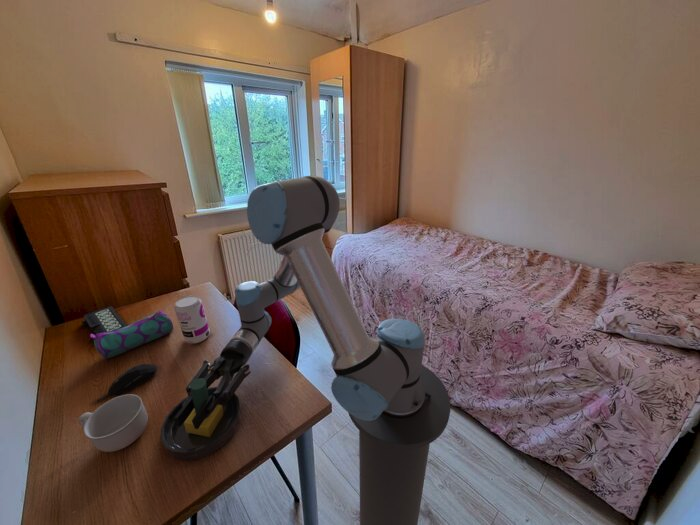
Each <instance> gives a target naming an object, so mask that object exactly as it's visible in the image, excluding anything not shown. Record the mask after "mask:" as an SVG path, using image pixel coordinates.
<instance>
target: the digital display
mask: <svg viewBox="0 0 700 525" xmlns="http://www.w3.org/2000/svg"><path fill="white" fill-rule="evenodd" d="M83 318H84V320H82V322H81V324H82V325H83V327H84V328H86V327H89V328H90V330H91V331H92V332H93V335H96V334H99V333H107V332H112V331H115V330H118V329H121V328H124V327H126V326H128V325H127V323H125V321H124V320H123V319H122V317H121V316H120V315H119V314H118V312H117V311H116V310H115V309H114V307H113V306H107V307H104V308H101V309H98V310H95V311H92V312H90V313H89V312H88V313H86V314H84V315H83ZM90 339H91V341H92V342H94V340H93V338H91V337H90Z"/></svg>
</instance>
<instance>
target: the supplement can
mask: <svg viewBox="0 0 700 525" xmlns="http://www.w3.org/2000/svg"><path fill="white" fill-rule="evenodd" d="M174 312H175V316H176V318H177V321H178V324H179V327H180V330H181V333H182V336H183V339H184V341H185V342H186V343H188V344H199V343H201V342H203V341H205V340H207V339H208V337H209V336H210V334H211V329H210V325H209V323H208V322H209V321H208V319H207V315H206V310H205V307H204V304H203V300H202V299H200V298H199V296H197V295H187V296H184V297H181V298H179V299H178V300H176V302H175V306H174Z"/></svg>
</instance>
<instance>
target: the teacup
mask: <svg viewBox="0 0 700 525" xmlns="http://www.w3.org/2000/svg"><path fill="white" fill-rule="evenodd" d="M148 421H149V414H148V412H147V409H146V407H145V405H144V403H143V400H142V398H141V397H140V396H139V395H137V394H133V393H127V394H120V395H117V396H115V397H113V398H111V399H109V400H107V401H106V402H104V403H102V404H101V405H99V407H97V408H96V409H95V410H94V411H93V412H84V413H81V415H80V416H79V418H78V420H77V422H78V424H79V425H80V426H81V427H83V434H84V436H85V437H86V438H87V439H88V440H89V441H90V443H91V444H92V446H94V447H95V448H96V449H97V450H100V451H102V452H105V453H112V452H117V451H119V450H122V449H125V448H126V447H128V446H130V445H131V444H133V443H134V442H135V441H136V440H137V439H139V437H140V436H142V434H143V433H144V431H145V430H146V428H147V426H148Z"/></svg>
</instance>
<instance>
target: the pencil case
mask: <svg viewBox="0 0 700 525" xmlns="http://www.w3.org/2000/svg"><path fill="white" fill-rule="evenodd" d="M173 331H174V325H173V322H172V320H171V318H169V316H168V315H167V314H166V312H164V311H163V310H157V311H156V312H154V313H152V314H150V315H148V316H146V317H143V318H141V319H139V320H136V321H134V322H133V323H131V324H129V325H127V326H126V327H124V328H121V329H118V330H115V331H112V332H107V333H99V334H96V335H94V333H90V334H89V337H90V339H91V338H93V340H94V341H93V343H94V348H95V349H96V351H97V352H98V354H99V355H100V356H101V357H102V358H103V359H105V360H108V359H111V358H114V357H116V356H120V355H122V354H124V353H126V352H129V351H131V350H132V349H135V348H138V347H139V346H142V345H145V344H148V343H150V342H152V341H155V340H157V339H159V338H162V337H164V336H166V335H168V334H170V333H172V332H173Z"/></svg>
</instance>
